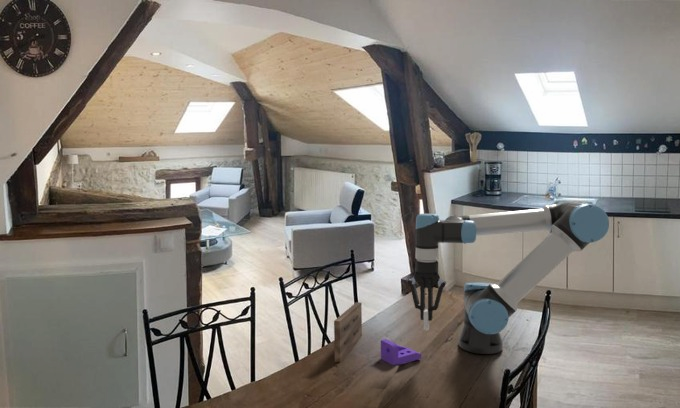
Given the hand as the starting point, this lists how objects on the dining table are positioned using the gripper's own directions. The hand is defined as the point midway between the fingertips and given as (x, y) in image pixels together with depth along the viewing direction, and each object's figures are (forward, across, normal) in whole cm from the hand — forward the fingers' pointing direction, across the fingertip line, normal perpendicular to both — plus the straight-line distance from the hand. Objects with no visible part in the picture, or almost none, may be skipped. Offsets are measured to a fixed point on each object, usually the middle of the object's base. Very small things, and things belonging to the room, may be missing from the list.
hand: (426, 329), depth 167 cm
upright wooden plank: (+10, +28, 0) cm, 29 cm away
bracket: (+11, +8, +2) cm, 14 cm away
